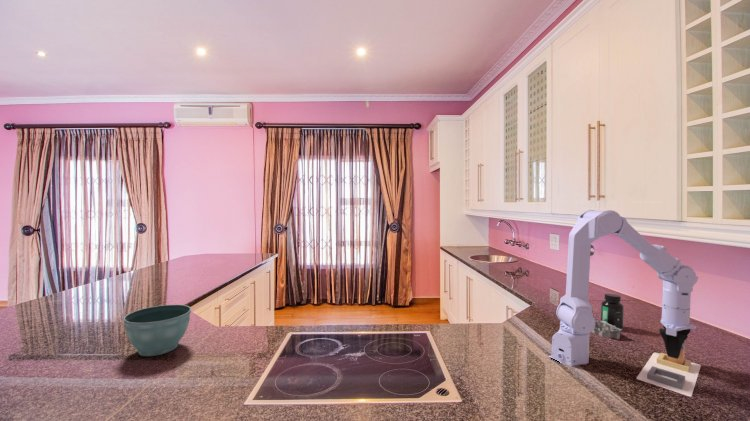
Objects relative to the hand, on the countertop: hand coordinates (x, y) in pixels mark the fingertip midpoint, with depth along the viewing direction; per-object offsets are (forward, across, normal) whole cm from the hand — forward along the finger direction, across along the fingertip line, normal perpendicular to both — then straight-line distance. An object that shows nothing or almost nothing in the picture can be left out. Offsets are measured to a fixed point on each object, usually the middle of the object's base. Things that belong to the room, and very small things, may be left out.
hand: (674, 354), depth 89 cm
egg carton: (+4, +13, +20) cm, 24 cm away
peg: (+3, 0, 0) cm, 3 cm away
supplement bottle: (+4, +23, +20) cm, 31 cm away
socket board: (+3, -6, 0) cm, 7 cm away
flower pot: (+4, -109, +98) cm, 147 cm away
